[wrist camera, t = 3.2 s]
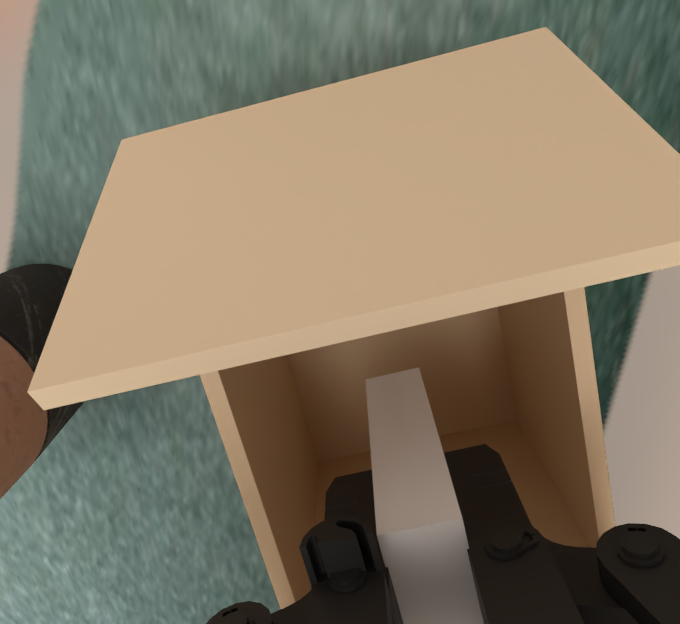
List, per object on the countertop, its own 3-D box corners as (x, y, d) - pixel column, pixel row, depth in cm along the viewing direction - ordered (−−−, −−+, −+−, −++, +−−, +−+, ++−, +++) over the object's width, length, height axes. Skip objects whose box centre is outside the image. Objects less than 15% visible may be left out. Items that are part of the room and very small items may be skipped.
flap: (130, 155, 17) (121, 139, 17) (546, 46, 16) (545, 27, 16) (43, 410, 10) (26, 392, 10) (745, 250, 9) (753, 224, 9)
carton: (527, 423, 33) (623, 587, 21) (312, 468, 34) (294, 648, 22) (467, 73, 28) (552, 44, 16) (213, 140, 29) (124, 157, 17)
